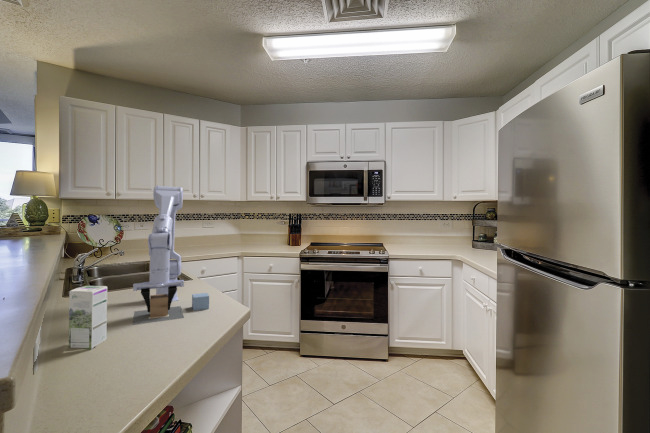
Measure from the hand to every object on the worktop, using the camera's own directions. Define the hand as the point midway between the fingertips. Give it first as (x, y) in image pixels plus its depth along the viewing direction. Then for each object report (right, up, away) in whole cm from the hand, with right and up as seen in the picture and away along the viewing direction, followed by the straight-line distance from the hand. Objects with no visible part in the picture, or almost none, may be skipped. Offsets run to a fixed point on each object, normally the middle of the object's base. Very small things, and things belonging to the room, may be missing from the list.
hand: (158, 310), depth 99 cm
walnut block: (0, -1, 0) cm, 1 cm away
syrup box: (-5, -2, -23) cm, 23 cm away
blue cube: (+10, -2, +8) cm, 13 cm away
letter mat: (0, -2, 0) cm, 2 cm away
